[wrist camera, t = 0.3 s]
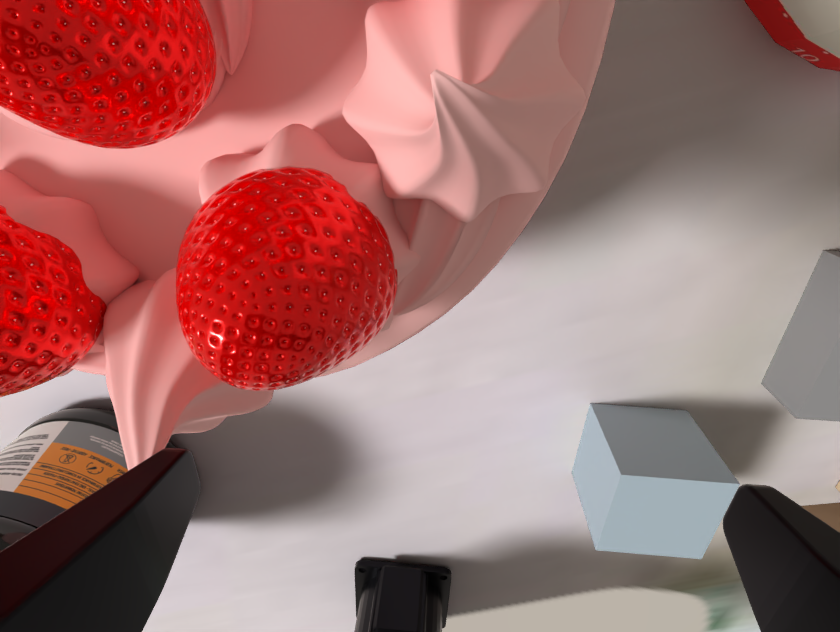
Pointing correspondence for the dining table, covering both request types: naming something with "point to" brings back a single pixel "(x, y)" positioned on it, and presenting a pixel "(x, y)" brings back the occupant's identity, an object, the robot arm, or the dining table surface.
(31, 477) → the supplement container
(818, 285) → the base block
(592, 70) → the cake
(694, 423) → the slate cube
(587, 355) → the dining table surface
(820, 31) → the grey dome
